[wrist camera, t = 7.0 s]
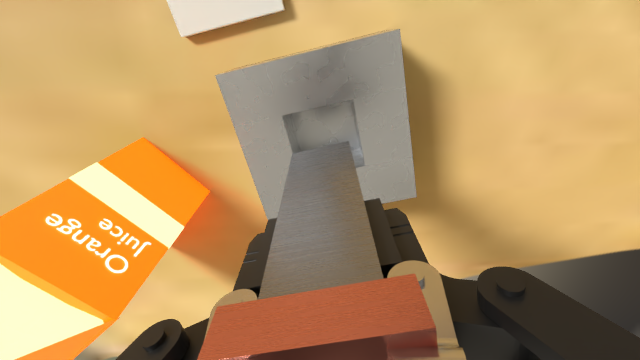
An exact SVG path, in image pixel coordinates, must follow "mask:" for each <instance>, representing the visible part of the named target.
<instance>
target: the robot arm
mask: <svg viewBox="0 0 640 360" xmlns="http://www.w3.org/2000/svg"><path fill="white" fill-rule="evenodd" d="M364 203H365V207H366V211H367V215H368V219H369V223H370V227H371V231H372V235H373V239H374V243H375V247H376V251H377V255H378V259H379V263H380V267H381V271H382V275H383V279H385V278H391V277H396V276H402V275H408V274H414V273H415V275H416V277H417V280H418V282H419V285H420V287H421V290H422V293H423V295H424V298H425V300H426V303H427V305H428V308H429V311H430V313H431V316H432V318H433V321H434V323H435V326H436V332H437V344H438V346H430V347H409V348H395V349H387V360H640V338H639V337H637V336H635V335H634V334H632V333H630V332H628V331H627V330H625V329H623V328H622V327H620V326H618V325H616V324H615V323H613V322H611V321H609V320H608V319H606V318H604V317H603V316H601V315H599V314H598V313H596V312H594V311H592V310H591V309H589V308H587V307H585V306H584V305H582V304H580V303H579V302H577V301H575V300H573V299H572V298H570V297H568V296H566V295H565V294H563V293H561V292H560V291H558V290H556V289H555V288H553V287H551V286H549V285H548V284H546V283H544V282H543V281H541V280H539V279H537V278H535V277H534V276H532V275H531V274H529V273H527V272H525V271H522V270H519V269H516V268H511V267H493V268H490V269H487V270H485V271H484V272H482V273H481V274H480V275H479V277H478V280H477V281H473V280H462V279H454V278H450V277H447V276H444V275H442V274H440V273H439V272H438V271H437V270H436V269H435V268H434V267H433V266H431V265H430V264H429V263H428V261H427V259H426V257H425V255H424V253H423V250H422V248H421V246H420V244H419V242H418V240H417V238H416V236H415V233H414V232H413V229H412V227H411V225H410V223H409V221H408V218H407V216H406V215H405V214H404V213H403V212H401V211H400V210H398V209H397V208H394V209H389V210H384V209H383V206H382V203H381V200H380V198H376V199H371V200H366V201H364ZM276 221H277V218H273V219H269V220H268V223H267V226H266V229H265V233H261V234H258V235H257V236H256V237H255V238H254V239H253V240H252V242H251V243H250V244H249V247H248V250H247V253H246V254H247V255H245V258H244V261H243V262H244V263H243V264H242V267H241V270H240V272H239V275H238V278H237V281H236V284H235V286H234V289H233V291H232V292H230V293H228V294H227V295H225V296H224V297H222V298H221V299H220V300H219V301H218V302H217V303H216V304H215V306H214V307H213V309H212V311H211V314H210V318H208V319H206V320H203V321H201V322H199V323H196V324H194V325H192V326H190V327H187V328H185V329H184V328H183V327H182V325H181V324H180V322H179V321H177V320H175V319H167V320H163V321H160V322H158V323H156V324H154V325H152V326H151V327H149V328H148V329H147V330H145V331H144V332H143V333H142V334H141V335H140V336H139V337H138V338H137V339H136V340H135V341H134V342H133V343H132V344H131V345H130V346H129V347H128V348H127V349H126V350H125V351H124V352H123V353H122V354H121V355H120V356H119V357H118V358H117V359H116V360H197V358H198V356H199V353H200V350H201V348H202V345H203V343H204V340H205V337H206V335H207V332H208V329H209V327H210V324H211V321H212V319H213V316H214V313H215V311H216V308H217V306H223V305H229V304H235V303H241V302H247V301H253V300H258V297H259V293H260V289H261V284H262V280H263V276H264V272H265V267H266V263H267V259H268V255H269V250H270V246H271V242H272V238H273V233H274V229H275V225H276Z"/></svg>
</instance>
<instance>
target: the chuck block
mask: <svg viewBox="0 0 640 360" xmlns="http://www.w3.org/2000/svg"><path fill="white" fill-rule="evenodd" d="M215 76H216V79H217V82H218V84H219V87H220V90H221V93H222V95H223V98H224V101H225V104H226V106H227V109H228V112H229V115H230V117H231V120H232V123H233V126H234V128H235V131H236V134H237V136H238V139H239V142H240V145H241V147H242V150H243V153H244V156H245V158H246V161H247V164H248V167H249V169H250V172H251V175H252V178H253V180H254V183H255V186H256V189H257V191H258V194H259V197H260V200H261V202H262V205H263V208H264V211H265V213H266V216H267V219H268V220H269V219H273V218H277V216H278V212H279V208H280V204H281V199H282V195H283V191H284V187H285V182H286V178H287V174H288V170H289V165H290V161H291V157H292V153H296V152H300V151H305V150H309V149H314V148H318V147H323V146H327V145H332V144H337V143H341V142H346V141H349V144H350V148H351V152H352V156H353V160H354V164H355V168H356V172H357V176H358V180H359V184H360V188H361V191H362V195H363V199H364V201H366V200H371V199H376V198H380V200H381V203H382V204H383V203H388V202H394V201H399V200H404V199H409V198H415V197H417V195H416V185H415V175H414V165H413V155H412V145H411V135H410V125H409V115H408V105H407V95H406V85H405V75H404V66H403V56H402V46H401V36H400V29H395V30H386V31H381V32H377V33H373V34H369V35H365V36H361V37H358V38H354V39H350V40H346V41H342V42H338V43H334V44H330V45H326V46H322V47H318V48H314V49H310V50H306V51H302V52H298V53H294V54H290V55H286V56H282V57H278V58H274V59H270V60H267V61H263V62H259V63H255V64H251V65H247V66H243V67H239V68H235V69H232V70H229V71H227V72H224V73H221V74H218V75H215Z"/></svg>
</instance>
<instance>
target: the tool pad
mask: <svg viewBox="0 0 640 360" xmlns="http://www.w3.org/2000/svg"><path fill="white" fill-rule="evenodd" d="M167 3H168V5H169V8H170V10H171V13H172V15H173V18H174V20H175V23H176V26H177V28H178V31H179V33H180V36H181V37H188V36H192V35H196V34H199V33H203V32H207V31H211V30H214V29H218V28H222V27H225V26H229V25H233V24H237V23H240V22H244V21H248V20H251V19H255V18H259V17H263V16H266V15H270V14H274V13H277V12H281V11H285V8H284V4H283V0H167Z"/></svg>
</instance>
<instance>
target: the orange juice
mask: <svg viewBox="0 0 640 360" xmlns="http://www.w3.org/2000/svg"><path fill="white" fill-rule="evenodd" d="M209 192H210V191H209V190H208V189H206V188H205V187H204V186H203V185H201V184H200V183H199V182H198V181H197V180H195V179H194V178H193V177H192V176H190V175H189V174H188V173H187V172H185V171H184V170H183V169H182V168H180V167H179V166H178V165H177V164H176V163H174V162H173V161H172V160H171V159H169V158H168V157H167V156H166V155H164V154H163V153H162V152H161V151H160V150H158V149H157V148H156V147H155V146H153V145H152V144H151V143H150V142H148V141H147V140H146V139H145V138H141V139H139V140H137V141H136V142H134V143H132V144H130V145H128V146H127V147H125V148H123V149H121V150H119V151H118V152H116V153H114V154H112V155H110V156H109V157H107V158H105V159H103V160H101V161H100V162H98V163H97V162H96V163H95V164H93V165H91V166H89V167H87V168H86V169H84V170H82V171H80V172H78V173H76V174H75V175H73V176H71V177H69V178H68V179H67V180H66V181H64V182H62V183H60V184H58V185H57V186H55V187H53V188H51V189H49V190H48V191H46V192H44V193H42V194H40V195H39V196H37V197H35V198H33V199H31V200H30V201H28V202H26V203H24V204H22V205H21V206H19V207H17V208H15V209H13V210H12V211H10V212H8V213H6V214H4V215H3V216H1V217H0V360H73V359H74V358H75V357H76V356H77V355H78V354H79V353H81V352H82V351H83V350H84V349H85V348H86V347H87V346H88V345H89V344H91V343H92V342H93V341H94V340H95V339H96V338H97V337H98V336H100V335H101V334H102V333H103V332H104V331H105V330H106V329H107V328H108V327H110V326H111V325H112V324H113V323H114V322H115V321H116V320H117V319H119V318H120V317H119V315H120V314H121V313H122V311H123V310H124V309H125V307H126V306H127V305H128V303H129V302H130V300H131V299H132V298H133V296H134V295H135V294H136V292H137V291H138V289H139V288H140V287H141V285H142V284H143V283H144V281H145V280H146V278H147V277H148V276H149V274H150V273H151V272H152V270H153V269H154V268H155V266H156V265H157V263H158V262H159V261H160V259H161V258H162V257H163V255H164V254H165V252H166V251H167V250H168V249H169V248H170V247H171V245H172V244H173V243H174V241H175V240H176V238H177V237H178V236H179V234H180V233H181V231H182V230H183V229H184V226H185V225H186V224H187V222H188V221H189V220H190V218H191V217H192V215H193V214H194V213H195V211H196V210H197V209H198V207H199V206H200V204H201V203H202V202H203V200H204V199H205V198H206V196H207V195H208V194H209ZM118 317H119V318H118Z"/></svg>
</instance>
